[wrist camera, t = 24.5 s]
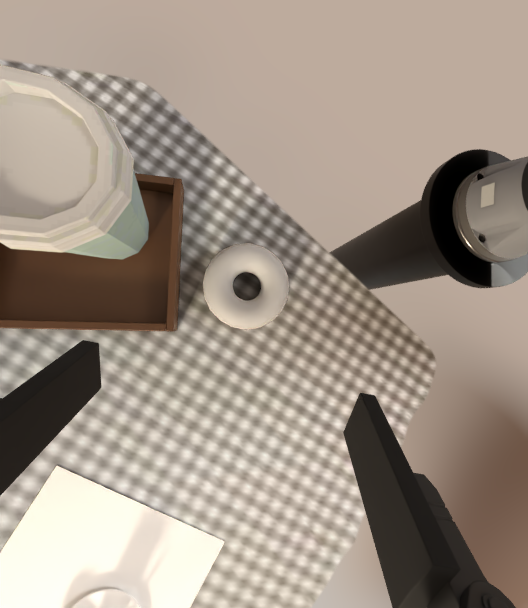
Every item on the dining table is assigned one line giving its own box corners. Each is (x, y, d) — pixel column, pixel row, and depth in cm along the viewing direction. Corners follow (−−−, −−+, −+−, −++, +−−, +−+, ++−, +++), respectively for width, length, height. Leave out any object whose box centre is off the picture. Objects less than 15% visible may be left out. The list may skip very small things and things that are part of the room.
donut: (185, 294, 31) (252, 346, 31) (181, 291, 27) (257, 348, 28) (238, 231, 32) (300, 282, 33) (240, 220, 29) (310, 277, 30)
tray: (184, 190, 31) (181, 178, 29) (177, 330, 30) (173, 331, 27) (0, 168, 28) (-21, 153, 25) (-15, 326, 26) (-39, 327, 24)
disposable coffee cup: (181, 207, 30) (150, 101, 16) (149, 295, 29) (84, 270, 14) (84, 171, 29) (-53, 14, 14) (47, 263, 27) (-147, 198, 13)
